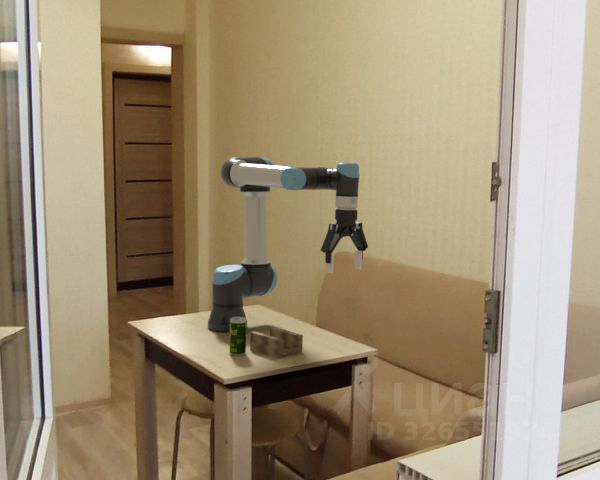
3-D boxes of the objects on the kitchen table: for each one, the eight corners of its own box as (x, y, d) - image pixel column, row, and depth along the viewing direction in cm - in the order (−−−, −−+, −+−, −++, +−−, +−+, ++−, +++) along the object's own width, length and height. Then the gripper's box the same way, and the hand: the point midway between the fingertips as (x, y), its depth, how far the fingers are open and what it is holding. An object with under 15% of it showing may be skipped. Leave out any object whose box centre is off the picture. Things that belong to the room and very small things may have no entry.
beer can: (237, 350, 231) (238, 315, 230) (249, 353, 228) (249, 318, 227) (226, 353, 227) (226, 318, 226) (237, 357, 224) (238, 321, 222)
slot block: (250, 349, 233) (250, 332, 232) (273, 343, 241) (273, 327, 240) (278, 358, 223) (279, 340, 223) (302, 352, 231) (302, 334, 231)
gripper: (327, 210, 220) (325, 276, 223) (379, 208, 237) (376, 269, 239) (311, 209, 226) (309, 272, 228) (363, 206, 242) (361, 266, 245)
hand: (344, 271), depth 234 cm, fingers open, 13 cm apart
